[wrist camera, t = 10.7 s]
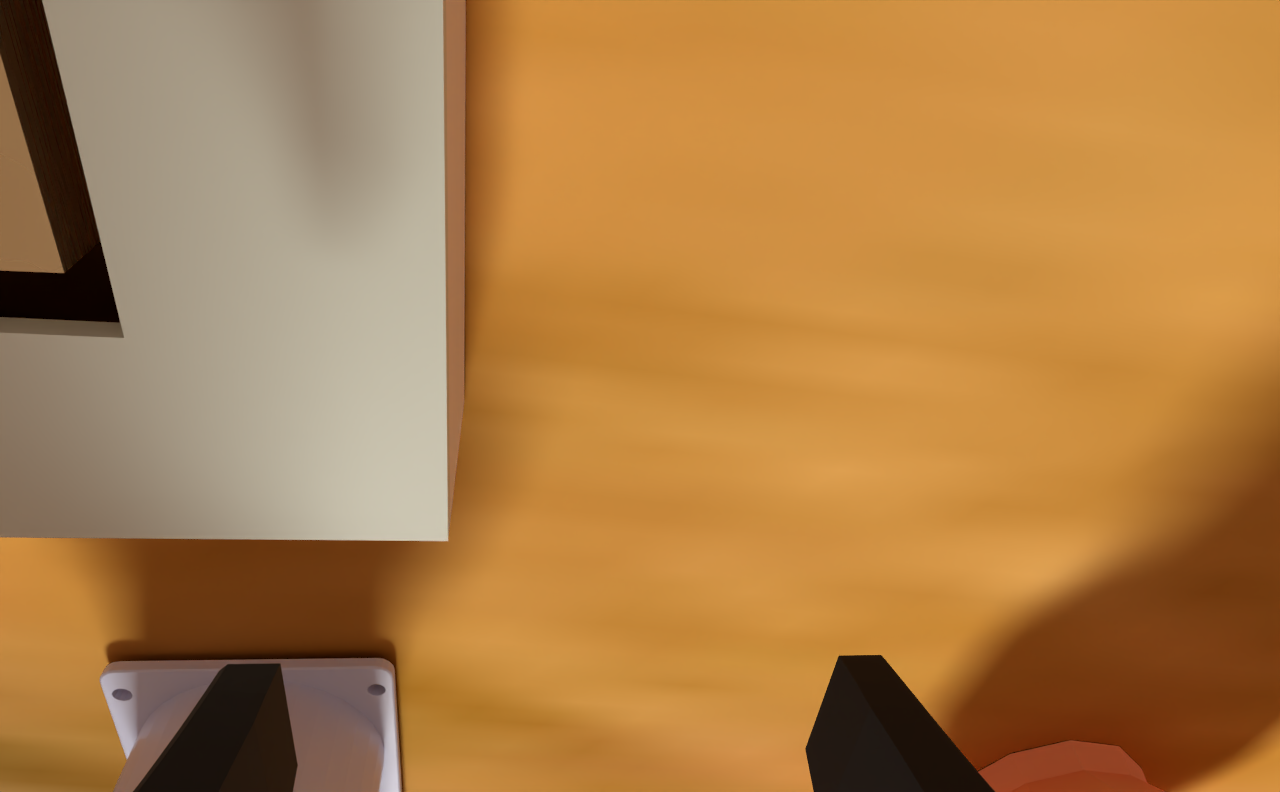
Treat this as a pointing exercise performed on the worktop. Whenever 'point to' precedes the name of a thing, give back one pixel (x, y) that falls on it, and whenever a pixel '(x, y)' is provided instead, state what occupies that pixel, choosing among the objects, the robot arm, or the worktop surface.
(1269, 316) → the worktop surface
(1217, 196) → the worktop surface
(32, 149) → the wooden block
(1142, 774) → the potted cactus
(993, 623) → the worktop surface
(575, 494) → the worktop surface
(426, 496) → the box
